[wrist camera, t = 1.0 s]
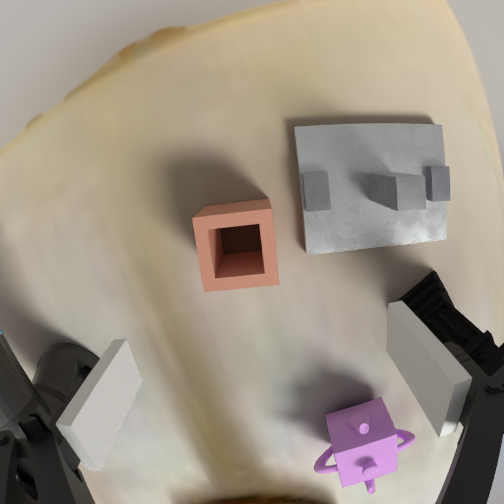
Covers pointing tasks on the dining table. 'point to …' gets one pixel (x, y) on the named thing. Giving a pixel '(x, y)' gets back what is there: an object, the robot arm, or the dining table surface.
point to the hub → (236, 264)
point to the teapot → (363, 444)
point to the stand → (371, 185)
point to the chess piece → (453, 324)
